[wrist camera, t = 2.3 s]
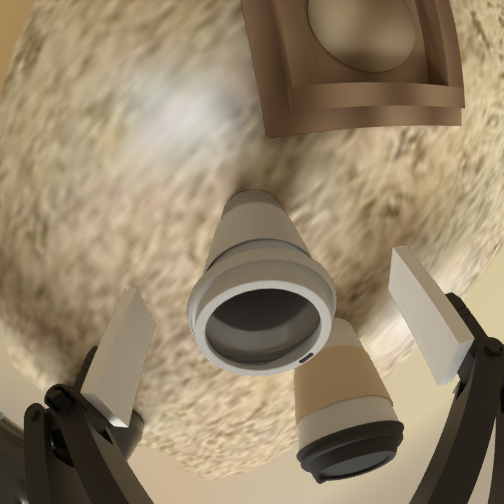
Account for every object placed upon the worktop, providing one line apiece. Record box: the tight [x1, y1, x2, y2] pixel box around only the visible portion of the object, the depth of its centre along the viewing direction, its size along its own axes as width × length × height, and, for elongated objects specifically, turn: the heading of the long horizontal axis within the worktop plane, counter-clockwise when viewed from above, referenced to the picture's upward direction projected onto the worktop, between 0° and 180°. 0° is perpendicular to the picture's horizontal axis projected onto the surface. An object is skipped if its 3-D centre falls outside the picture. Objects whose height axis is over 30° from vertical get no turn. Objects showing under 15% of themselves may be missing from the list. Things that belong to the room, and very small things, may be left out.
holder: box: [240, 0, 465, 138], centre depth 13 cm, size 16×16×4 cm
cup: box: [187, 190, 336, 376], centre depth 17 cm, size 7×7×12 cm
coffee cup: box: [294, 317, 404, 484], centre depth 23 cm, size 9×9×15 cm
